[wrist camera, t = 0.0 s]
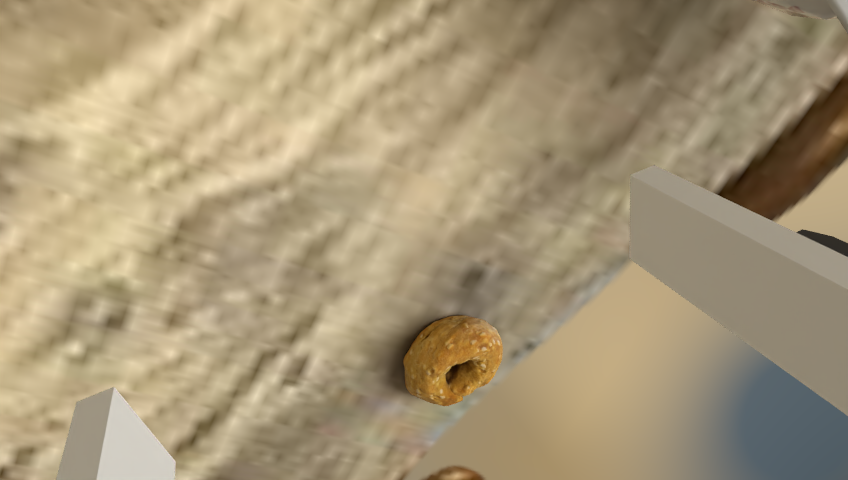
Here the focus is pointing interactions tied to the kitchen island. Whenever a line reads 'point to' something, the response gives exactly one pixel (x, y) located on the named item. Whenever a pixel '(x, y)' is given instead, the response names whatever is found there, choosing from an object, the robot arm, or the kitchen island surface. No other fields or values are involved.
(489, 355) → the bagel
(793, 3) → the chamber pot
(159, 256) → the kitchen island surface
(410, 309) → the kitchen island surface
